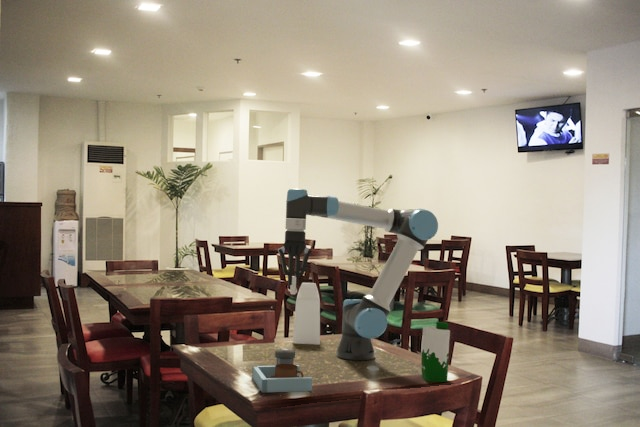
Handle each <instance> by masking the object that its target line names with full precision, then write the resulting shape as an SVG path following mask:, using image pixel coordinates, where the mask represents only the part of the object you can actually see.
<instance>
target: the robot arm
mask: <svg viewBox="0 0 640 427" xmlns="http://www.w3.org/2000/svg"><path fill="white" fill-rule="evenodd" d="M286 194H287V195H286V201H285V202H286V205H285V206H286V209H285V210H286V212H285V230H286V231H285V232H284V243H283V246H282V247H280V248H277V249H276V250H277V252H278V254H279V257H280V262H281V267H282V268H281V269H282V273H283V274H284V275H286V276H287V284H288V286H289V294H291V295H296V294H297V292H296V290H297V286H299V285H300V282H299V281H300V278H299V277H300V276H303V275H305V272H306V267H307V264H308V262H309V261H308V260H309V257H310V255H311V254H312V252H313V251H312V249H309V248H308V247H307V245H306V231H305V230H306V225H307V216H311V217H319V218H324V219H331V220H336V221H341V222H346V223H352V224H358V225H361V226H368V227H373V228H378V229H383V230H384V231H385V233H386V232H387V233H391V234H395V235H396V237H397V241H396V243H395V245H394V248H393V249H392V251H391V253H390V255H389V257H388V259H387V260H386V262H385V264H384V266H383V267H382V270H381V272H380V273H379V275H378V277H377V279H376V281H375V283H374V285H373V286H372V288H371V290H370V292H369V293H368V294H367V295H363V297H362V299H359V298H358V299H356V298H355V299H350V298H349V299H348V298H347V299H346V298H345V300H344V301H343V303H342V304H343V305H342V326H341V339H340V341H339V344H338V346H337V349H336V357H338V358H340V359H343V360H344V359H345V360H350V361H370V360H373V359H374V358H375V349H374V345H373V341H372V339H377V338H379V337H380V336H381V335H383V334H384V332H385V331H386V329H387V327H388V317H389V315H390V313H391V308H390V304H391V303H392V300H393V299H394V297H395V295H396V292H397V291H398V289H399V287H400V285H401V283H402V282H403V280H404V277H405V276H406V274H407V272H408V270H409V268H410V266H411V264H412V262H413V260H414V259H415V257H416V255H417V253H418V252H419V251H420V250H424V248H425V246H426V244H427V243H428V241H430V240H431V239H432V238H434V237H435V236H436V234H437V232H438V230H439V221H438V219H437V216H435V214H434V213H433V212H431V210H427V209H425V208H417V209H395V208H389V209H388V210H387V209H381V208H378V207H377V208H376V207H371V206H365V205H361V204H355V203H350V202H345V201H339V199H338V197H337V196H331V195H312V194H308V190H307V189H301V188H290V189H288V190H287V193H286ZM285 252H286V253H287V255H288V256H287V258H288V263H287V262H286V256H285ZM302 253H304V255H303V257H302V262H301V255H302ZM294 260H295V261H294ZM287 265H288V266H287ZM293 269H294V270H293ZM293 271H294V273H293ZM293 274H294V275H293Z"/></svg>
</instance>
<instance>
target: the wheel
mask: <svg viewBox="0 0 640 427" xmlns="http://www.w3.org/2000/svg"><path fill="white" fill-rule="evenodd" d="M274 358H279V359H293V358H294V359H295V358H296V350H294V349H289V348H281V349H280V348H279V349H275V351H274Z"/></svg>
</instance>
